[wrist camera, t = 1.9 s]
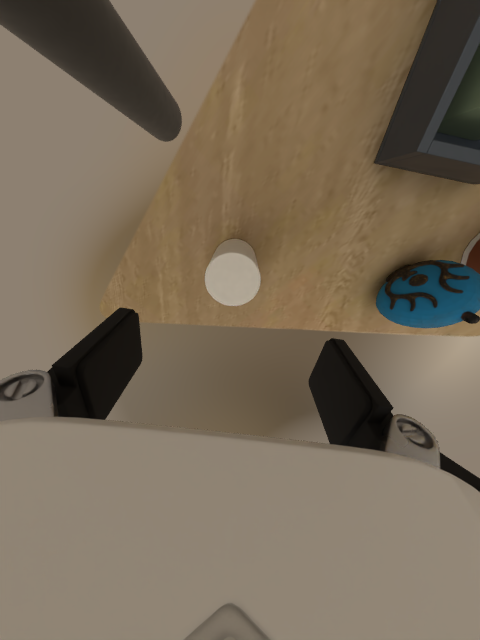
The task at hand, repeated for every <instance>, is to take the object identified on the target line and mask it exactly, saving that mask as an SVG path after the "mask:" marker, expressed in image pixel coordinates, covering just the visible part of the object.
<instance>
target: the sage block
mask: <svg viewBox="0 0 480 640" xmlns="http://www.w3.org/2000/svg"><path fill="white" fill-rule="evenodd" d="M437 132H439V133H443V134H448V135H452V136H456V137H461V138H465V139H470V140H474V141H475V140H479V139H480V44H479V46H478V48H477V50H476V52H475V54H474V56H473V58H472V60H471V62H470V64H469V66H468V68H467V70H466V73H465V75H464V77H463V79H462V81H461V83H460V85H459V87H458V89H457V91H456V93H455V95H454V97H453V99H452V101H451V104H450V106H449V108H448V110H447V112H446V114H445V116H444V118H443V120H442V122H441V124H440V126H439V128H438V130H437Z"/></svg>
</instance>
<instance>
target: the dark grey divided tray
mask: <svg viewBox="0 0 480 640" xmlns="http://www.w3.org/2000/svg"><path fill="white" fill-rule="evenodd" d="M479 44H480V0H438V1H437V3H436V6H435V8H434V11H433V14H432V16H431V19H430V21H429V24H428V26H427V29H426V31H425V34H424V37H423V39H422V42H421V44H420V47H419V49H418V52H417V54H416V57H415V60H414V62H413V65H412V67H411V70H410V72H409V75H408V77H407V80H406V82H405V85H404V88H403V90H402V93H401V95H400V98H399V100H398V103H397V105H396V108H395V111H394V113H393V116H392V118H391V121H390V123H389V126H388V128H387V131H386V134H385V136H384V139H383V141H382V144H381V146H380V149H379V151H378V154H377V157H376V159H375V162H374V163H375V164H380V165H385V166H389V167H394V168H399V169H404V170H408V171H413V172H418V173H422V174H427V175H432V176H437V177H441V178H446V179H451V180H455V181H460V182H465V183H470V184H480V139H479V140H475V141H474V140H470V139H465V138H461V137H456V136H452V135H448V134H443V133H439V132H437V130H438V128H439V126H440V124H441V122H442V120H443V118H444V116H445V114H446V112H447V110H448V108H449V106H450V104H451V101H452V99H453V97H454V95H455V93H456V91H457V89H458V87H459V85H460V83H461V81H462V79H463V77H464V75H465V73H466V70H467V68H468V66H469V64H470V62H471V60H472V58H473V56H474V54H475V52H476V50H477V48H478V46H479Z"/></svg>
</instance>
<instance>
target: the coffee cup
mask: <svg viewBox="0 0 480 640" xmlns="http://www.w3.org/2000/svg"><path fill="white" fill-rule="evenodd" d="M461 264H464V265H466V266H468V267H470V268H472V269H474V270H475V271H476V272H477V273H479V274H480V233H479V234H478V235H477V236H476V237H475V238H474V239H472V240H471V242H470V243H469V245H468V246H467V248H466V249H465V251H464V253H463V257H462V261H461Z"/></svg>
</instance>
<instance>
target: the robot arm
mask: <svg viewBox="0 0 480 640" xmlns="http://www.w3.org/2000/svg"><path fill="white" fill-rule="evenodd" d="M141 362H142V348H141V337H140V326H139V316H138V313H135V311H134V310H133V309H127V308H119V309H118V310H116V311H115V312H114V313H113V314H112V315H111V316H109V317H108V318H107V319H106V320H105V321H104V322H102V323H101V324H100V325H99V326H98V327H96V328H95V329H94V330H93V331H92V332H91V333H89V334H88V335H87V336H86V337H85V338H83V339H82V340H81V341H80V342H79V343H78V344H76V345H75V346H74V347H73V348H72V349H71V350H69V351H68V352H67V353H66V354H65V355H64V356H62V357H61V358H60V359H59V360H58V361H57V362H55V363H54V364H53V365H52V368H51V369H50V370H49V371H48V372H45V371H41V370H28V371H23V372H19V373H16V374H13V375H10V376H8V377H6V378H4V379H2V380H0V640H480V478H478V477H477V476H475V475H473V474H472V473H470V472H469V471H467V470H466V469H464V468H463V467H461V466H460V465H458V464H457V463H455V462H454V461H452V460H451V459H449V458H448V457H446V456H445V455H443V454H442V453H440V451H439V444H438V441H437V440H436V438H435V436H434V435H433V434H432V433H431V432H430V431H429V430H428V429H427V428H426V427H425V426H424V425H423V424H421V423H420V422H418V421H417V420H415V419H413V418H411V417H409V416H406V415H401V414H397V415H394V416H393V414H392V413H391V410H392V409H393V407H392V405H391V404H390V402H389V401H388V400H387V398H386V397H385V396H384V394H383V393H382V392H381V390H380V389H379V387H378V386H377V385H376V383H375V382H374V381H373V379H372V378H371V377H370V375H369V374H368V372H367V371H366V370H365V368H364V367H363V366H362V364H361V363H360V362H359V360H358V359H357V357H356V356H355V355H354V353H353V352H352V351H351V349H350V348H349V347H348V345H347V344H346V342H345V341H344V340H340V339H333V338H332V339H330V340H329V341H326V342H325V345H324V347H323V349H322V351H321V353H320V356H319V358H318V360H317V363H316V365H315V367H314V369H313V371H312V373H311V376H310V378H309V387H310V390H311V392H312V395H313V398H314V401H315V404H316V406H317V409H318V412H319V414H320V417H321V420H322V423H323V426H324V429H325V431H326V434H327V437H328V440H329V442H330V444H325V443H317V442H308V441H299V440H291V439H282V438H273V437H264V436H255V435H246V434H237V433H228V432H219V431H209V430H199V429H190V428H181V427H172V426H162V425H152V424H143V423H133V422H123V421H111V420H105V419H106V417H107V416H108V414H109V413H110V411H111V410H112V408H113V406H114V405H115V403H116V402H117V400H118V399H119V397H120V395H121V394H122V392H123V391H124V389H125V388H126V386H127V384H128V383H129V381H130V380H131V378H132V376H133V375H134V373H135V372H136V370H137V369H138V367H139V366H140V364H141Z"/></svg>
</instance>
